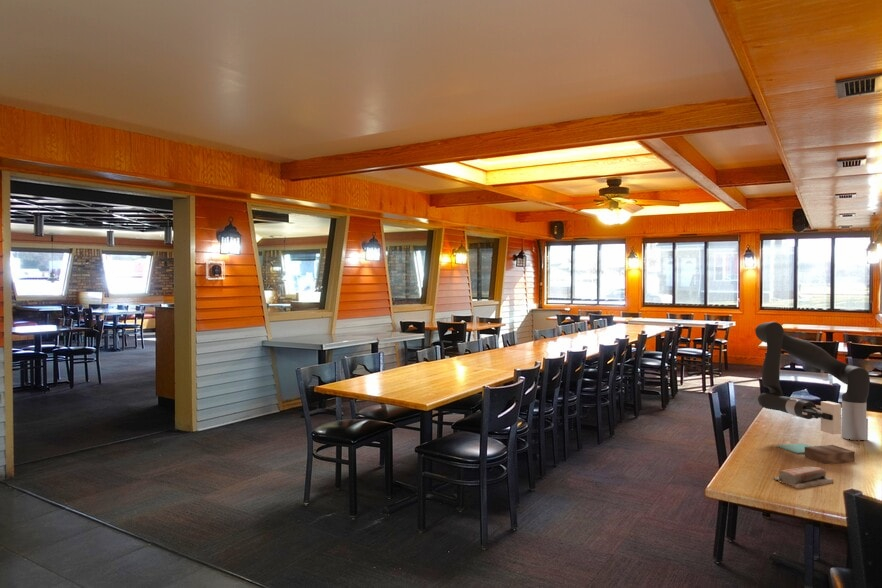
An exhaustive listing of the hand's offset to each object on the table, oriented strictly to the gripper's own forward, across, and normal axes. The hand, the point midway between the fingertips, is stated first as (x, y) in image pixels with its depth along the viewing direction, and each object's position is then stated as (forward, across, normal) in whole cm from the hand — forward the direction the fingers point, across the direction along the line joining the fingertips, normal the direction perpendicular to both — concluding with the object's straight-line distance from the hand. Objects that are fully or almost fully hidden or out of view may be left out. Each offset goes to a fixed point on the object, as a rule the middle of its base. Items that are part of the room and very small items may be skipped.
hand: (836, 417), depth 231 cm
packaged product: (+16, -32, +18) cm, 40 cm away
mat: (-17, 0, +18) cm, 24 cm away
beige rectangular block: (-2, 0, +7) cm, 7 cm away
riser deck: (-3, 0, +18) cm, 18 cm away
